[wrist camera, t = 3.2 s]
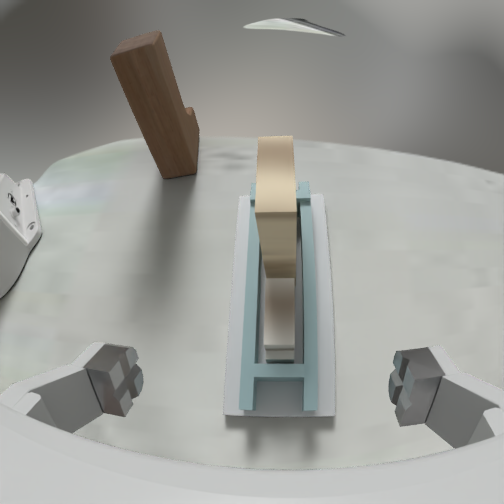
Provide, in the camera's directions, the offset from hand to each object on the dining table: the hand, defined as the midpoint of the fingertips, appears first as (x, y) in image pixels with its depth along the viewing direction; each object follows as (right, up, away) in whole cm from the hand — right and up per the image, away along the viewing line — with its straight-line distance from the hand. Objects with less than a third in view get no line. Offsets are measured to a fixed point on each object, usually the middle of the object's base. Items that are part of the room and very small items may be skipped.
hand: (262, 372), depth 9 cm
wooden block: (-9, +17, +31) cm, 37 cm away
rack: (+2, 0, +20) cm, 20 cm away
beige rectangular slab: (+3, +4, +21) cm, 21 cm away
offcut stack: (+2, -3, +17) cm, 18 cm away
